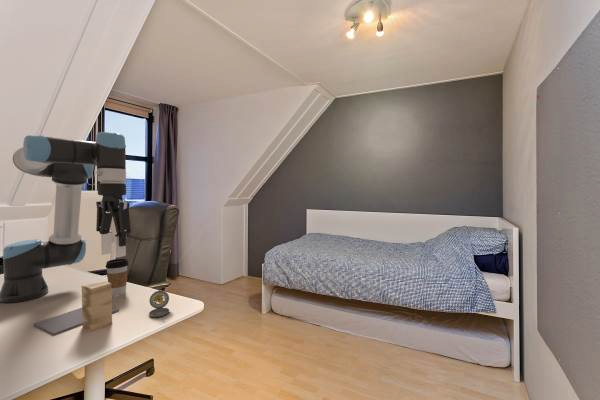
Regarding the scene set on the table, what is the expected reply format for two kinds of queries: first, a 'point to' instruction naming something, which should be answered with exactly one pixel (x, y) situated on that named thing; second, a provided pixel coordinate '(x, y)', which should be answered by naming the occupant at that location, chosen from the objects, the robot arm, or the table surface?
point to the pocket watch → (159, 307)
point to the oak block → (96, 305)
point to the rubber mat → (63, 321)
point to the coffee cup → (117, 275)
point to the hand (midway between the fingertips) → (113, 255)
